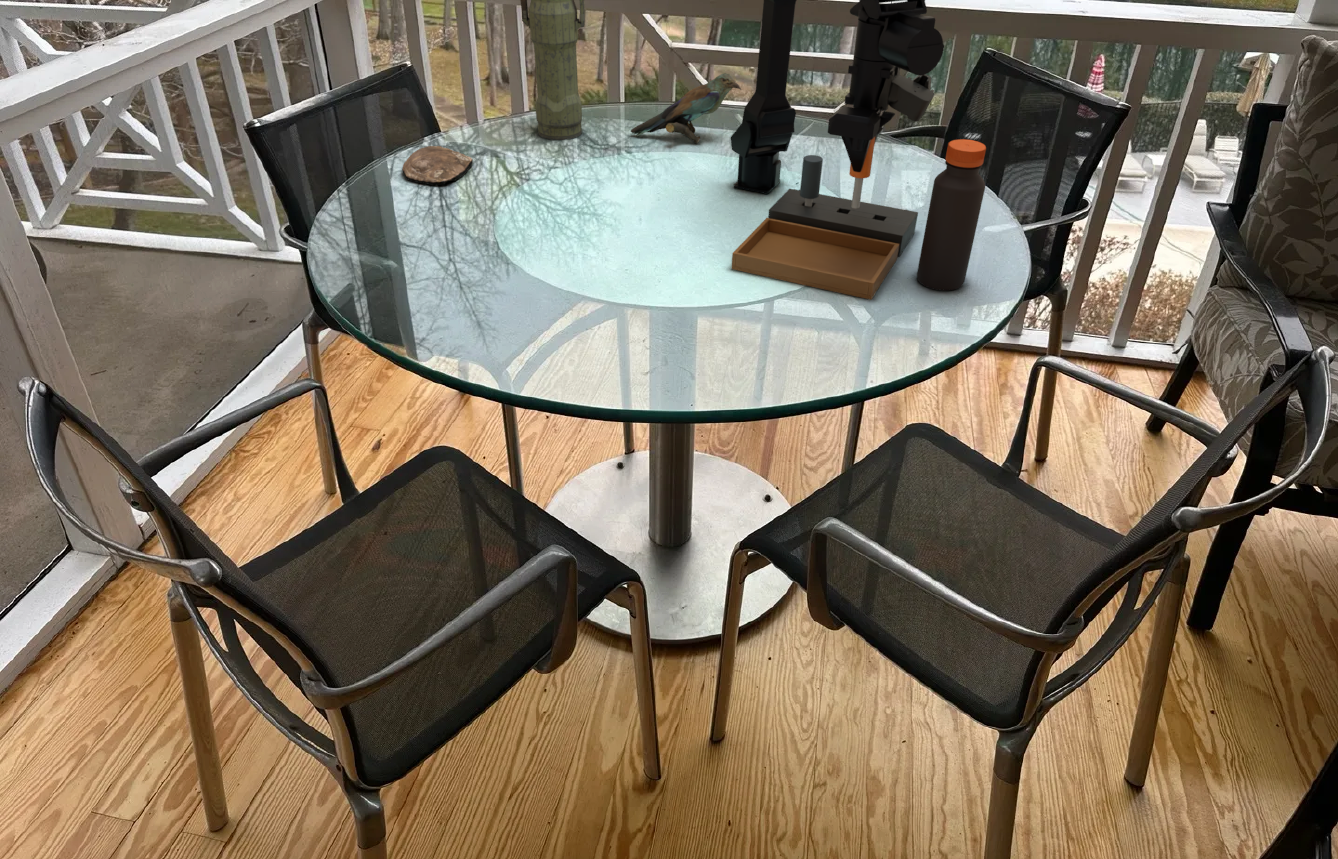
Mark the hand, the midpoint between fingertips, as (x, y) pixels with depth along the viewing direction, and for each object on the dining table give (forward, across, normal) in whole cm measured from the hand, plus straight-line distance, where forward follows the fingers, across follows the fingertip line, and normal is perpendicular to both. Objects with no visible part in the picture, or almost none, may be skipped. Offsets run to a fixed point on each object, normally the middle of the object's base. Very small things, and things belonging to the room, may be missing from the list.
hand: (860, 167), depth 136 cm
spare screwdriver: (+13, +6, +9) cm, 17 cm away
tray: (+13, -7, +3) cm, 15 cm away
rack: (+13, +6, +3) cm, 15 cm away
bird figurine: (+13, +34, +43) cm, 56 cm away
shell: (+13, -1, +76) cm, 77 cm away
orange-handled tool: (+6, 0, 0) cm, 6 cm away
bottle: (+13, -4, -15) cm, 20 cm away
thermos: (+13, +27, +67) cm, 73 cm away
